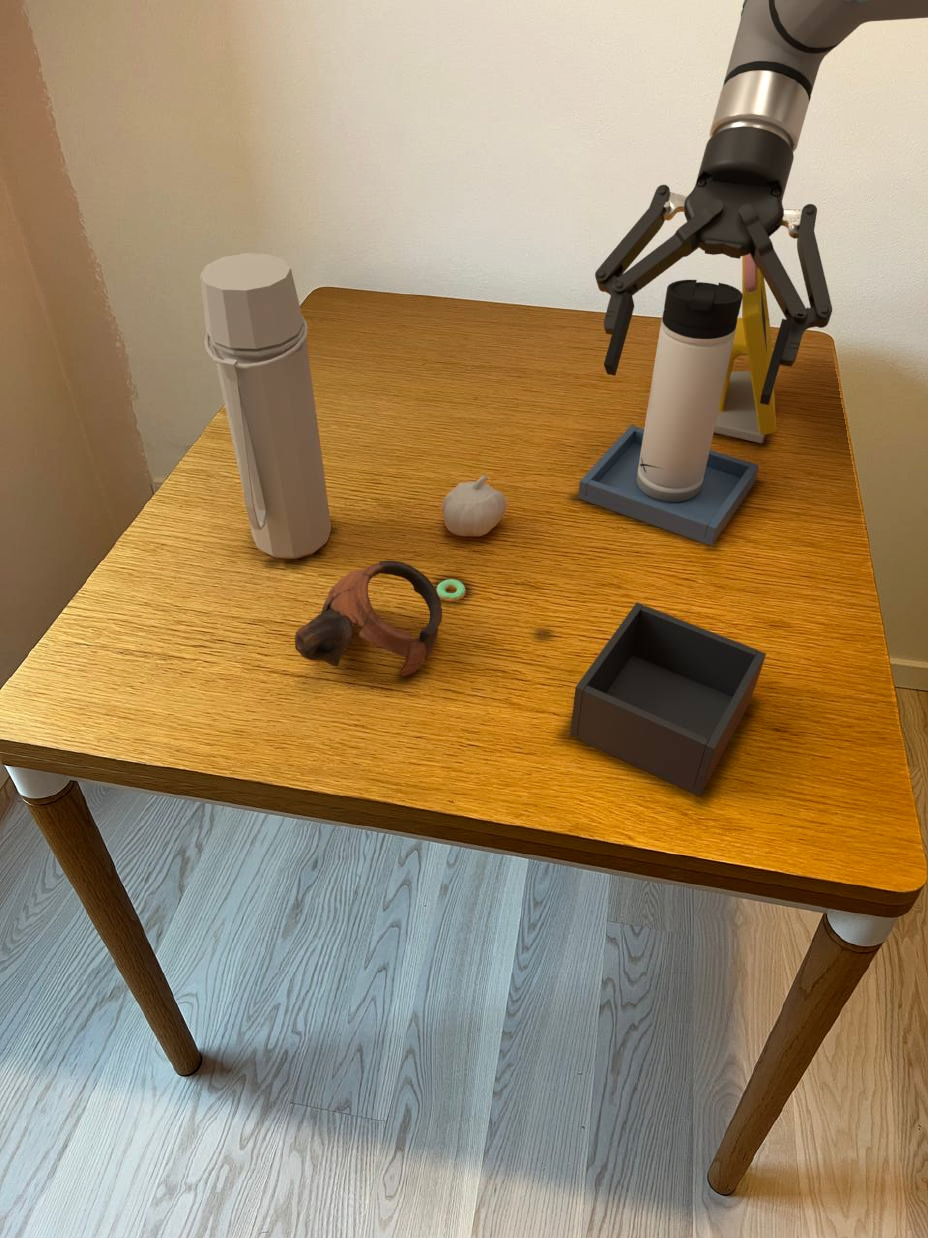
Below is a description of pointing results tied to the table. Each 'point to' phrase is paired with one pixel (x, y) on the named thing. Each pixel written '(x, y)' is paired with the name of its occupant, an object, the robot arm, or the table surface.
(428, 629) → the animal head ring
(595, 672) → the dark grey open box
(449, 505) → the garlic
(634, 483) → the tray
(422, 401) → the table surface
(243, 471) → the water bottle
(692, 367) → the travel mug
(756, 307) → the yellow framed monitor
